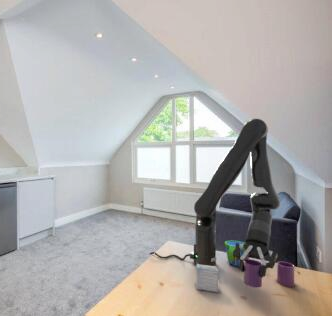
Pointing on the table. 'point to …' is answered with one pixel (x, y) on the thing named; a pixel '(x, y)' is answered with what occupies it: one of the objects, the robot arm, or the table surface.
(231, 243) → the snack cup
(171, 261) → the table surface
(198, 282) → the medicine box
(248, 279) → the plum cup
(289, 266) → the plum cup
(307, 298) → the table surface
